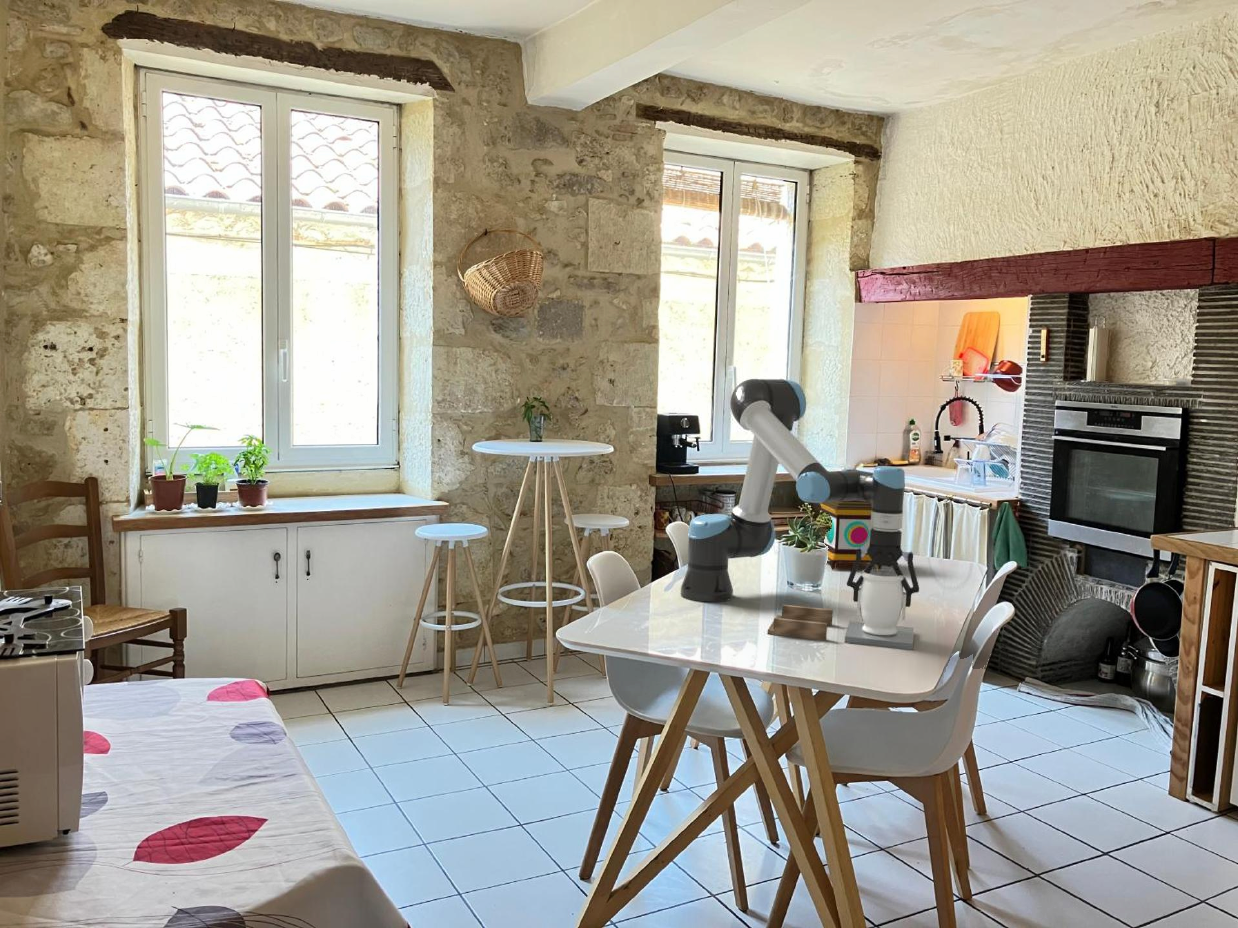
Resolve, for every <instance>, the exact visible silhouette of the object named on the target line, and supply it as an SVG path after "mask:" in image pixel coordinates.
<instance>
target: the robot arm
mask: <svg viewBox="0 0 1238 928" xmlns="http://www.w3.org/2000/svg"><path fill="white" fill-rule="evenodd" d="M729 402H730V410H731V414H732V416H733V417H734V419H735V420H736V423H738V425H740V427H741V428H742V429H743V430H745V431H750V432H751V433H752V434H753V439H752V443H751V447H750V453H749V458H748V461H747V466H746V470H745V474H744V480H743V484H742V489H741V493H740V497H739V501H738V504H737V505H735V506H734V507H732V509H731V513H730V516H729V515H728V514H723V513H712V514H711V513H709V514H708V513H707V514H702V515H699V516H698V515H697V516H695V517H693V518H692V519H691V520H690V522H689V529H688V533H687V534H688V535H687V536H688V550H687V551H688V552H687V570H686V572H685V575H684V577H683V581H682V584H681V585H680V596H681V597H683V598H684V599H686V600H687V599H688V600H693V601H697V602H698V601H699V602H708V603H709V602H711V603H712V602H726V601H729V600H732V598H733V597H734V588H733V585H732V580H731V578H730V575H729V559H740V558H755V557H760V556H763V555H764V554H767V553H768V552H769V551H770V550H771V549H772V547H773V545H774V544H775V540H776V530H775V524H774V522H773V521H772V516H771V514H770V513H769V512H768V511H769V510H768V509H769V505H770V502H771V499H772V498H771V497H772V492H773V489H774V485H775V480H776V475H777V473H778V467H779V464H780V465H781V466H782V467H783V469H785V471H786V472H787V473H788V474H789V475H790V476H791V477H792V479H793V480H795V482H796V484H795V489H796V492H797V494H798V495H797V496H798V497H799V499H800V500H801V501H803V502H805V503H814V504H820V503H822V502H834V501H852V500H859V501H866V502H871V503H872V511H871V526H872V527H873V528H872V529H871V530H870V544H869V547H868V549H861V548H860V547H859V548H857V550H856V560H855V562H853V564H852V567H851V571H850V573H849V576H848V579H847V581H846V585H847V587H850V588H852V590H853V598H852V600H853V602H854V603H857V609H856V616H857V617H860V616H861V604H860V592H861V590H860V589H861V584H862V582H863V579H864V578H863V577H862V575H860V576H859V577H858V579H857V581H856V582H855V581H854V578H855V576H856V575H857V571H858V568H859V566H860V563H861V562H860V561H861V557H864V556H865V554H866V553H868V555H869V556H870V558H871V559H872V560H871V562H868V565H867V566H866V568H864V572H866V573H868V574H869V573H870V571H871V570H872V569H873V568H874V567H876V565H877V566H881V567H887V568H891V567H892V569H893V571H895V572H896V574H897V576H899V575H901V576H903V575H904V579H903V580H902V581H901V584H902V585H903V590H904V591H903V592H904V593H903V605H902V609H901V621H904V622H905V620H906V608H910V607H911V605H912V603H911V602H912V595H913V594H915V593H919V592H920V585H919V581H918V577H917V573H916V569H915V565H914V561H913V560H914V552H913V551H909V552H908V551H903V550H902V533H903V532H902V531H901V529H903V517H904V513H903V511H904V500H905V499H904V498H905V496H904V495H905V487H906V482H905V481H906V480H905V479H906V477H905V476H906V474H905V473H906V472H905V470H904V469H903V467H899V466H890V465H889V466H888V465H877V466H875V467H874V468H873V472H869V471H864V470H858V469H855V468H853V469H851V468H850V469H848V468H846V469H842V470H840V471H829V470H827V469H826V468H825V466H823V465H822V464H821V463H820V461H819V460H817V458H816V457H814V454H812V453H811V452H810V451H809V450H808V448H806V447H805V446H804V445H803V443H802V442H801V441H800V440H799V439H798V438H797V437H796V436H795V435H794V434H793V433H792V431H793V427H794V423H795V422H797V421H799V420H800V419H801V418H803V417H804V415H805V413H806V410H807V397H806V395H805V393H804V390H803V388H802V386H801V385H800V384H799V383H798V382H796V381H793V380H790V379H783V378H779V379H778V378H777V379H776V378H775V379H774V378H772V379H771V378H769V379H767V378H762V379H761V378H751V379H746V380H744V381H742V382H740V383H739V384H738V385H737V386H736V387H735V389H734V390H733V391H732V393H731V397H730V401H729ZM902 557H903V558H904V561H905V562H907V563H906V564H907V568H908V572H909V575H910V581H911V584H912V587H911V586H910V584H909V583H908V580H907V578H906V576H905V573H903V571H902V569H901V567H900V565H899V562H898V561H899V560H900V559H901V558H902Z"/></svg>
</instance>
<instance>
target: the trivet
mask: <svg viewBox="0 0 1238 928" xmlns="http://www.w3.org/2000/svg"><path fill="white" fill-rule="evenodd" d="M864 625H865V623H864V621H855V620H850V621H849V623H848V625H847V629H846V632H845V635H844V643H848V644H858V645H865V646H875V647H886V648H893V649H894V648H895V649H900V650H901V649H902V650H913V649H914V648H913V647H914V633H915V627H912V626H904V625H903V626H902V625H896V626H895V628H896V629H897V633H896V634H894V635H887V636H882V635H873V634H869V633H866V632H864V631H863V630H862V628H863V626H864Z"/></svg>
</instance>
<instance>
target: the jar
mask: <svg viewBox="0 0 1238 928" xmlns="http://www.w3.org/2000/svg"><path fill="white" fill-rule="evenodd" d="M864 570H865V569H864ZM864 570H861V573H860V574H861V575H862V577H863V578H864V579H863V582H862V584H861V586H860V588H861V589H860V590H861V592H860V604H861V614H860V616H861V618H862V622H864V623H865V625H864V626H863V628H862V630H863V631H864V632H866V633H869V634H873V635H882V636H887V635H894V634H896V633H897V629H896V628H895V626H898V625H897V624H898V623H899V621H900V618H901V615H902V605H903V593H904V592H905V591H904V587H903V585H902V584H901V581H902V580H903V579H904V576H905V574H904V575H903V576H901V575H899V576H897V574H896V572H895V570H891V569H883V568H881V569H876V568H875V569H872V570H871V571H870V573H869V574H868V573H866V572H864ZM861 575H860V576H861Z"/></svg>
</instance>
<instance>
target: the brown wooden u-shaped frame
mask: <svg viewBox="0 0 1238 928" xmlns="http://www.w3.org/2000/svg"><path fill="white" fill-rule="evenodd" d="M833 614H834V610H833V608H831V609H829V608H821V607H820V608H819V607H811V606H799V605H790V604H782V607H781V615H779V614H776V616H775V617H774V618H773V621H772V623H771V624H770V625H769V627H768V629H767V632H766V633H767V635H773V636H774V635H775V636H782V637H790V638H791V637H792V638H800V639H809V640H821V641H827V637H828V636H827V633H828V632H827V631H828V626H829V627H831V626H833V616H834V615H833Z"/></svg>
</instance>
